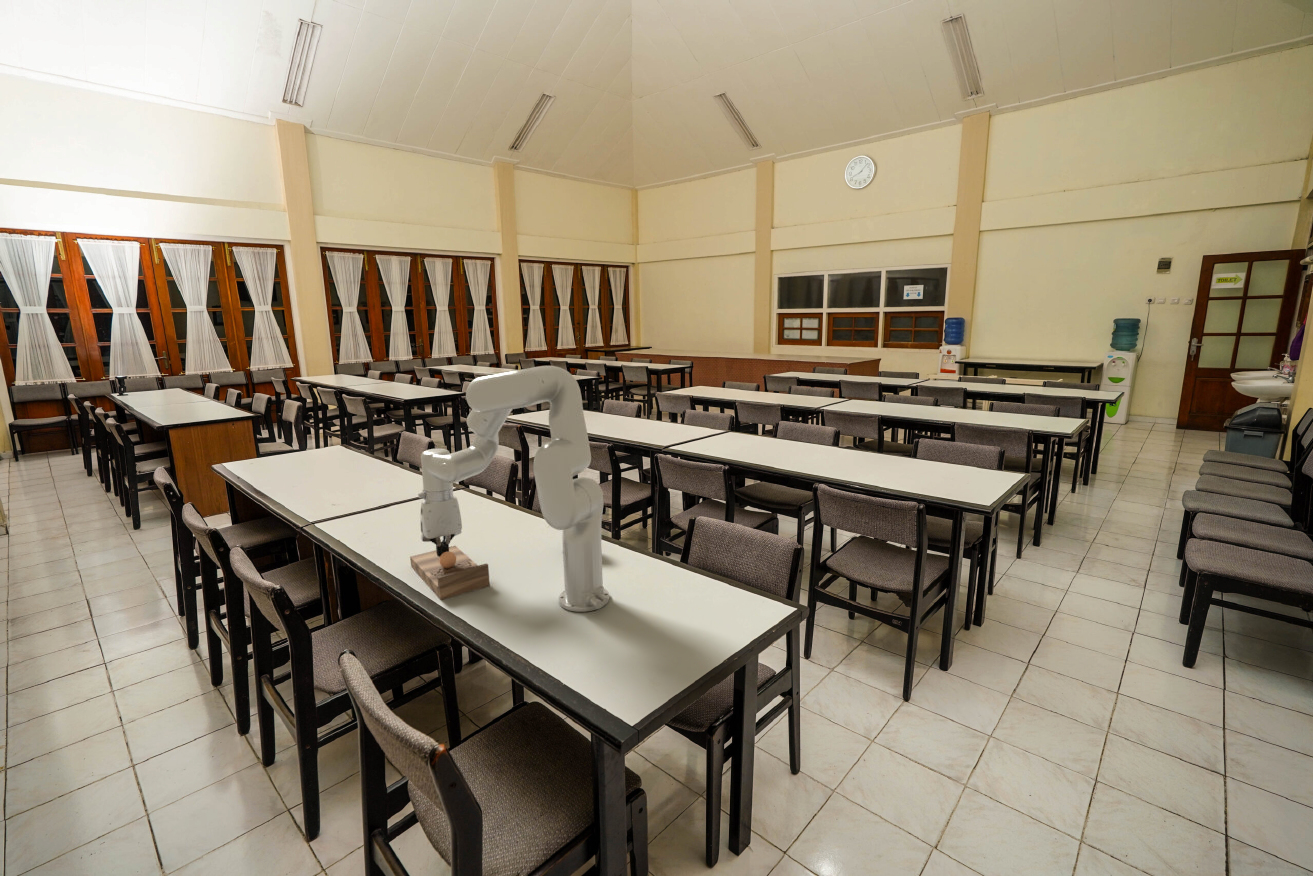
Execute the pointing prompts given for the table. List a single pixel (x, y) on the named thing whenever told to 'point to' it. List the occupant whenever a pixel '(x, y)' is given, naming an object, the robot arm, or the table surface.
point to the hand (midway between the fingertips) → (443, 557)
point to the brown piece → (450, 573)
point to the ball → (447, 559)
